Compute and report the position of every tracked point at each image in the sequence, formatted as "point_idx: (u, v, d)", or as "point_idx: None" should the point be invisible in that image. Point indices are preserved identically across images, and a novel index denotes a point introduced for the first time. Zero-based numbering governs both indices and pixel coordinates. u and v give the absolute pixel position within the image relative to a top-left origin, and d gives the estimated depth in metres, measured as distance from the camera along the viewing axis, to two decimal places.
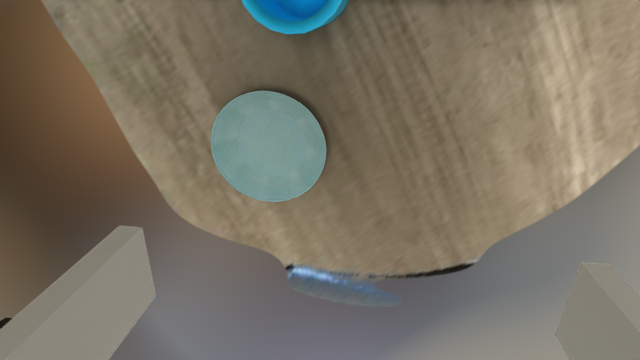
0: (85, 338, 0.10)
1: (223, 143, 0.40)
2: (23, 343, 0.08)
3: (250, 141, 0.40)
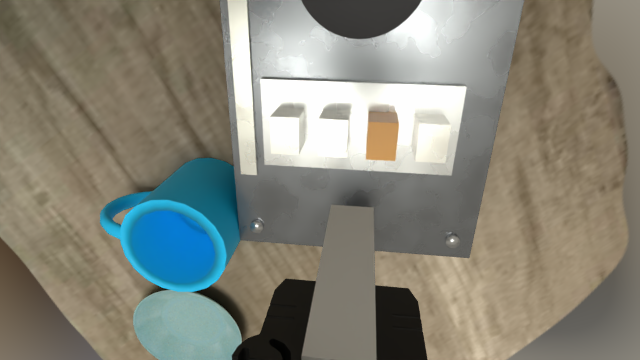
0: None
1: (147, 322, 0.42)
2: None
3: (173, 318, 0.43)
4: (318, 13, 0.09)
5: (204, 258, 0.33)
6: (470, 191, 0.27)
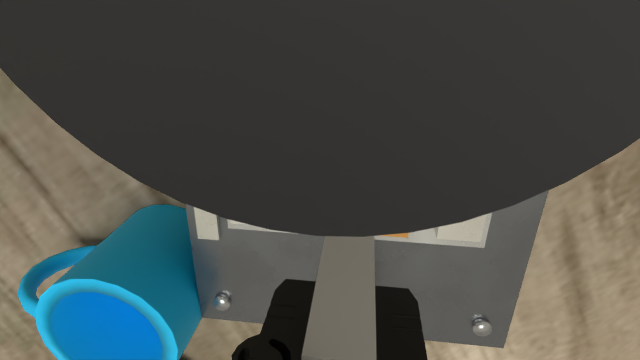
0: None
1: None
2: None
3: None
4: (80, 104, 0.01)
5: (157, 336, 0.25)
6: (508, 265, 0.20)
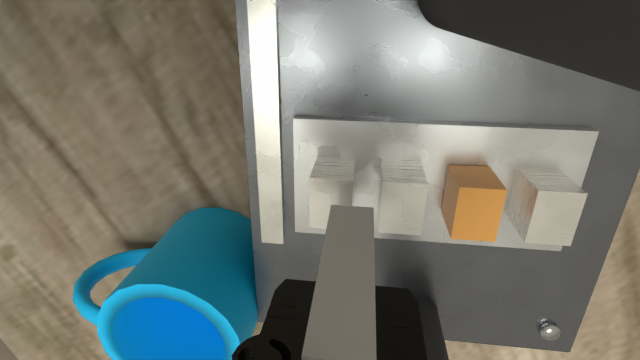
0: None
1: None
2: None
3: None
4: None
5: (210, 341, 0.25)
6: (582, 269, 0.20)
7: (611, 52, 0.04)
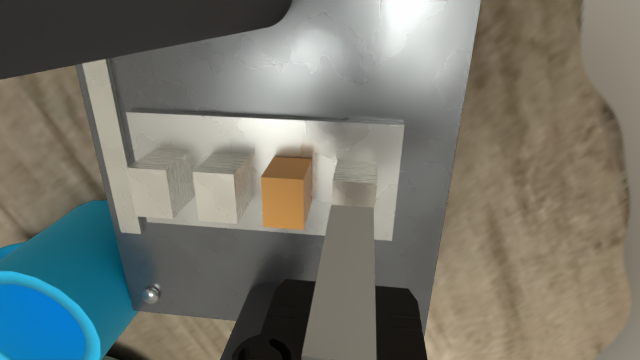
0: None
1: None
2: None
3: None
4: None
5: None
6: (419, 258, 0.20)
7: None
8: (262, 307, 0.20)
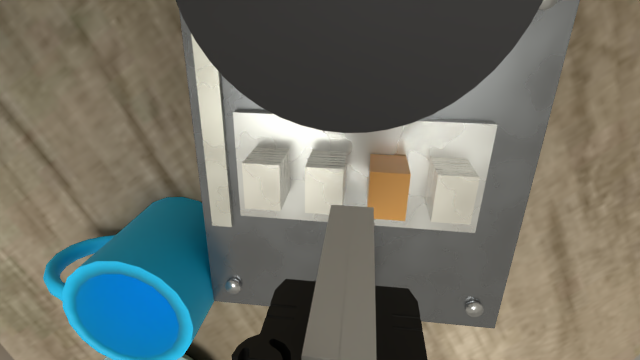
0: None
1: None
2: None
3: None
4: (239, 69, 0.03)
5: (172, 319, 0.27)
6: (498, 250, 0.22)
7: None
8: None
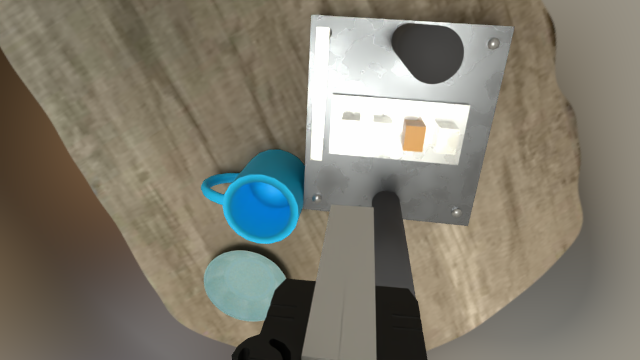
0: None
1: (213, 280, 0.54)
2: None
3: (233, 277, 0.54)
4: (414, 73, 0.21)
5: (274, 222, 0.44)
6: (470, 176, 0.39)
7: None
8: (388, 199, 0.39)
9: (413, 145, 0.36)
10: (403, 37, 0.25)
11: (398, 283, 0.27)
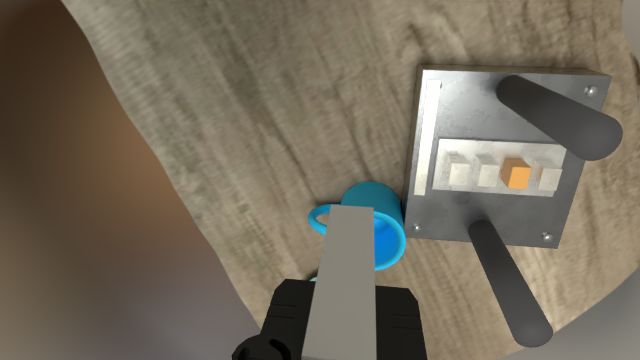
0: None
1: None
2: None
3: None
4: (576, 152, 0.25)
5: (374, 249, 0.49)
6: (562, 206, 0.43)
7: (555, 140, 0.27)
8: (488, 228, 0.43)
9: (518, 183, 0.40)
10: (544, 109, 0.29)
11: (537, 317, 0.31)
